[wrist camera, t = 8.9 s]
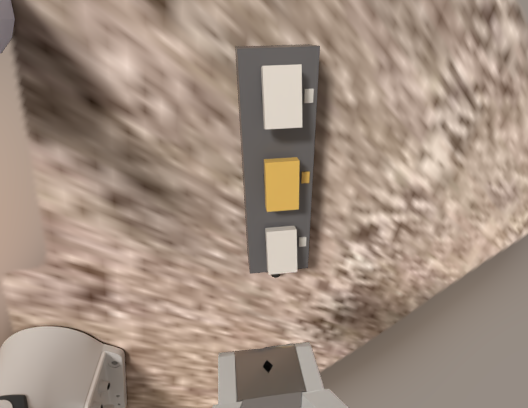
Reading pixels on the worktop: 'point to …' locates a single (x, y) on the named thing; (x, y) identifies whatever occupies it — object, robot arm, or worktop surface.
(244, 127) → the power strip
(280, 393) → the robot arm
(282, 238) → the block
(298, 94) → the plate
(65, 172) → the worktop surface
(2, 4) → the soap bottle
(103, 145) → the worktop surface
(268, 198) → the block
